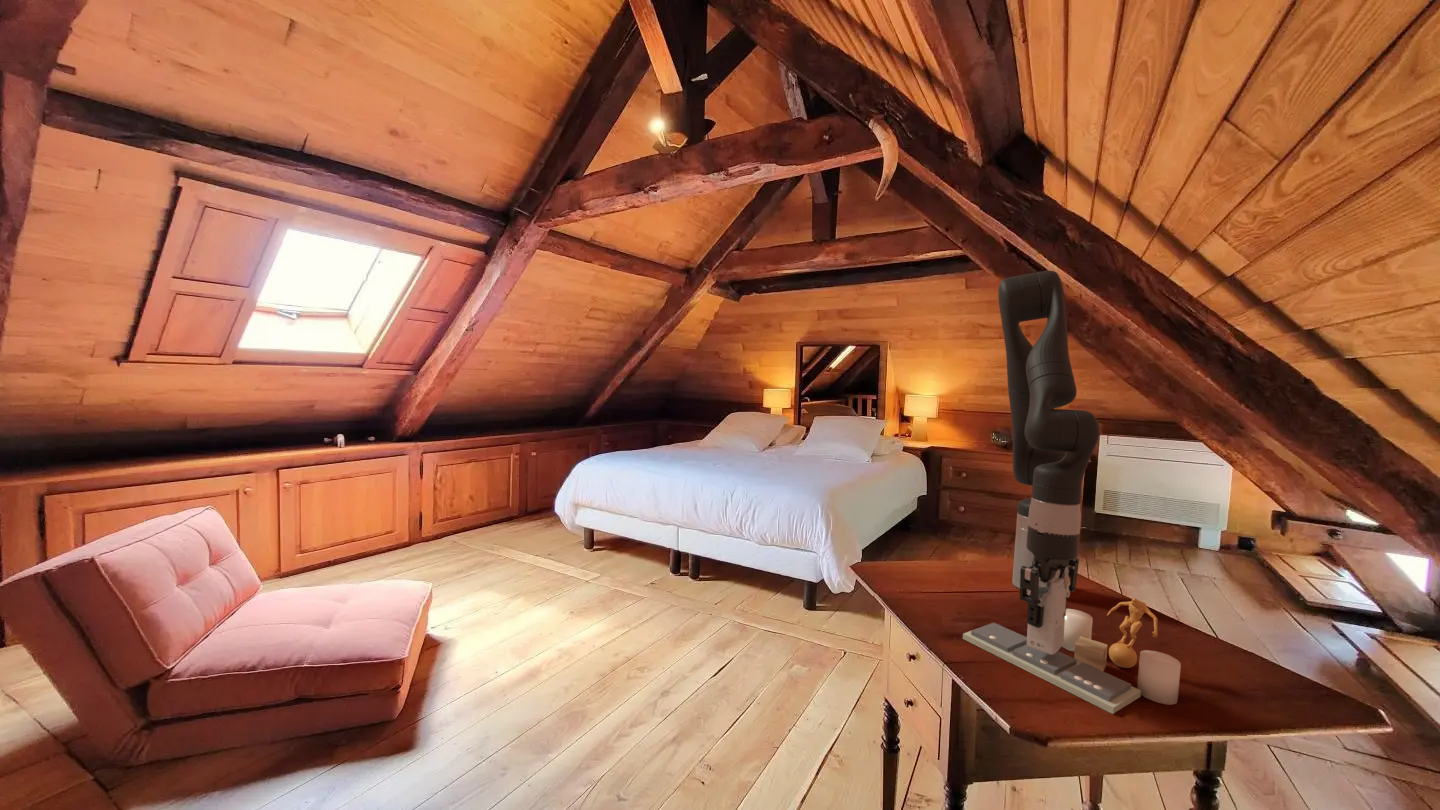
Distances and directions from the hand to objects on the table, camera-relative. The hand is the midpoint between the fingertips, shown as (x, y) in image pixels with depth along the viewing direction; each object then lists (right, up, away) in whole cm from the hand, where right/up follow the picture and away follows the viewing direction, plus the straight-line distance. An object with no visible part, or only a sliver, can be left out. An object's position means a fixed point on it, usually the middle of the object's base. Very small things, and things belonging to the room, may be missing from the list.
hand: (1046, 620), depth 93 cm
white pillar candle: (+13, -9, -7) cm, 17 cm away
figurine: (+15, -8, +1) cm, 17 cm away
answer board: (0, -8, +1) cm, 8 cm away
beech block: (+8, -8, +1) cm, 11 cm away
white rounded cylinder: (+10, -8, +8) cm, 14 cm away
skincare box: (0, -5, 0) cm, 5 cm away
